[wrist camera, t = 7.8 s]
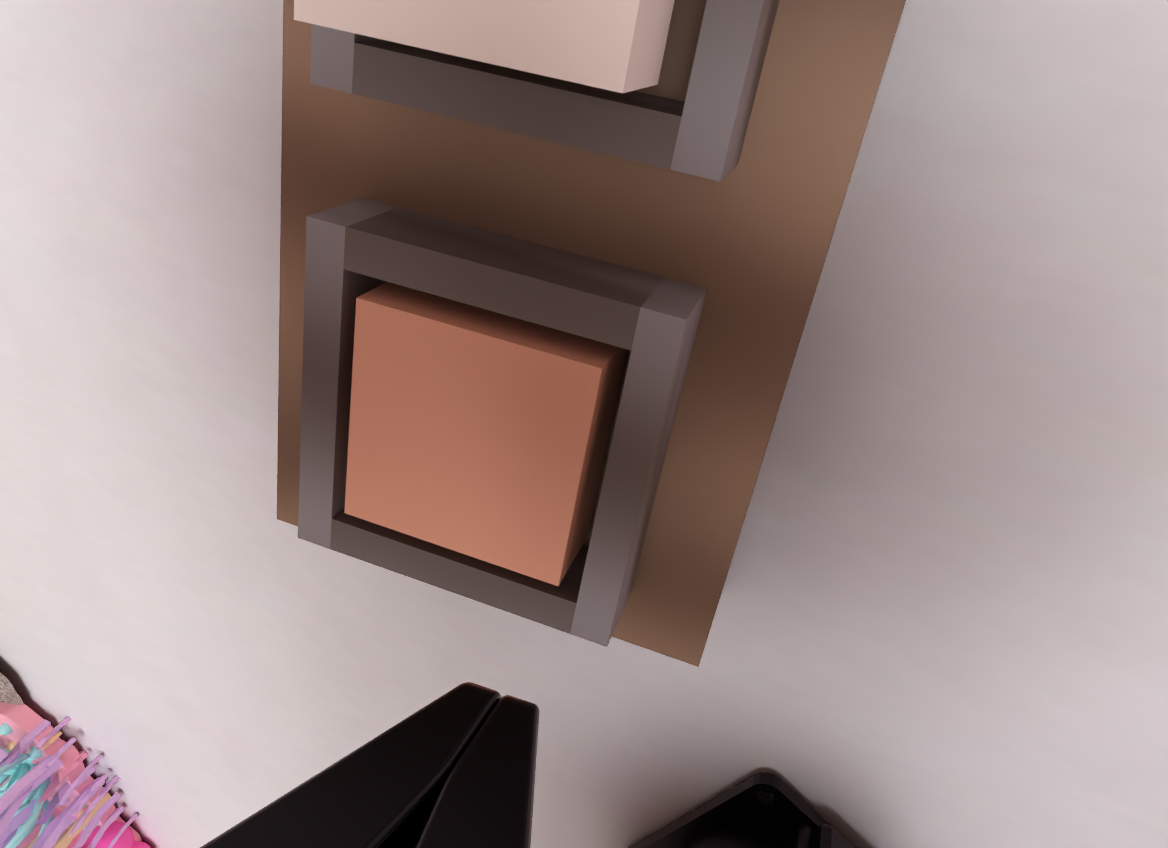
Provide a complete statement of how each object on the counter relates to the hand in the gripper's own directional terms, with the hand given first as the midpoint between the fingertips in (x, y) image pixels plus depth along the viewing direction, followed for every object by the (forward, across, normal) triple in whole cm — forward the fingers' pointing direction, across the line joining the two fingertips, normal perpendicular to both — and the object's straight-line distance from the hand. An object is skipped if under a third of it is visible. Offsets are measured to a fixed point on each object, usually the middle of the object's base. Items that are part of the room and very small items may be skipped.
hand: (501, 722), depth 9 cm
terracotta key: (+9, +4, +1) cm, 10 cm away
